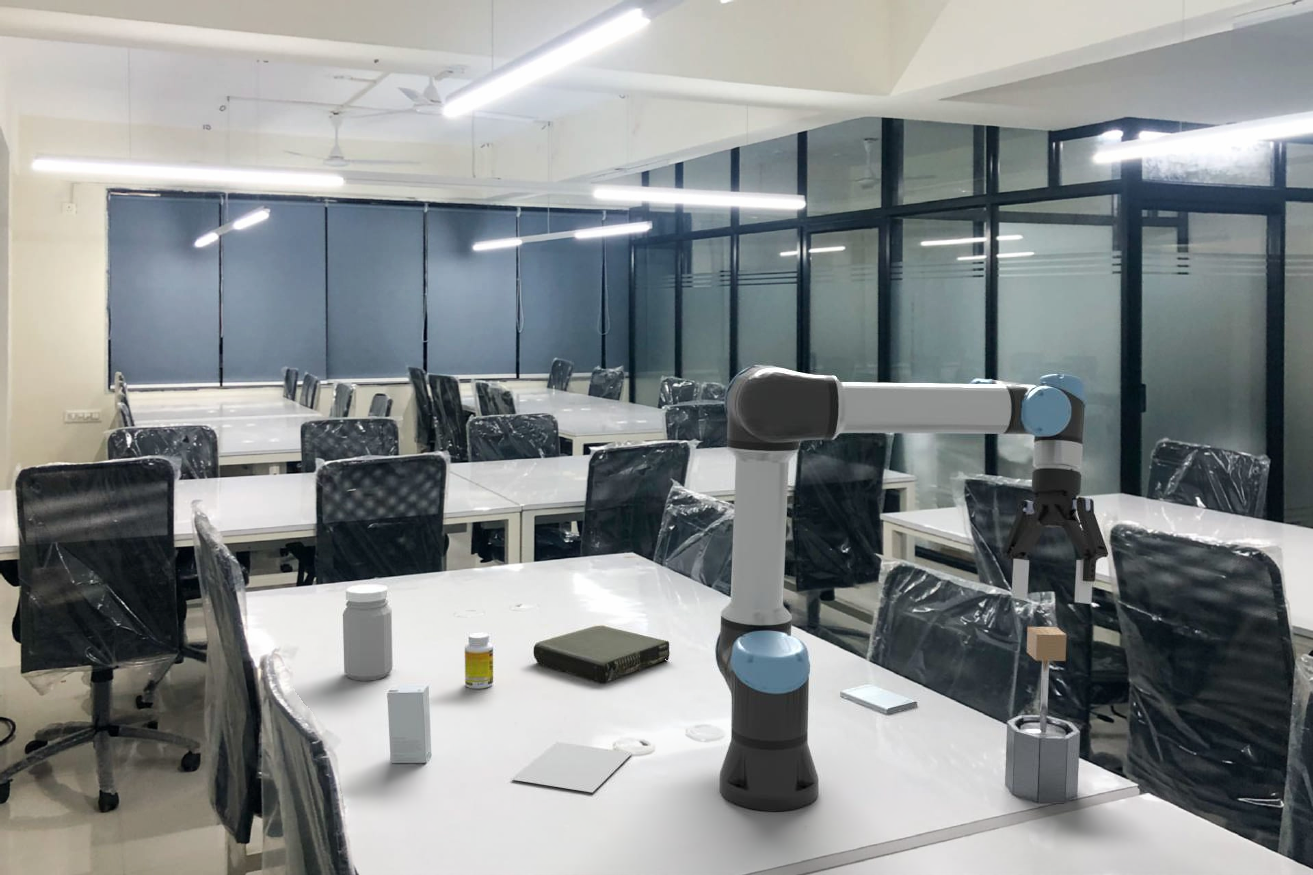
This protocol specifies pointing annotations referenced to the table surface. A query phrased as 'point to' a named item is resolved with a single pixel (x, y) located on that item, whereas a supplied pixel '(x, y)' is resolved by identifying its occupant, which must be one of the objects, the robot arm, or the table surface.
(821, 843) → the table surface
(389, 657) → the jar
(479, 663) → the supplement bottle
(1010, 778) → the octagonal metal cup
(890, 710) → the hard drive
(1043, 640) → the plunger
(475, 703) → the table surface
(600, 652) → the network switch
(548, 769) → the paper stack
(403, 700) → the skincare box
